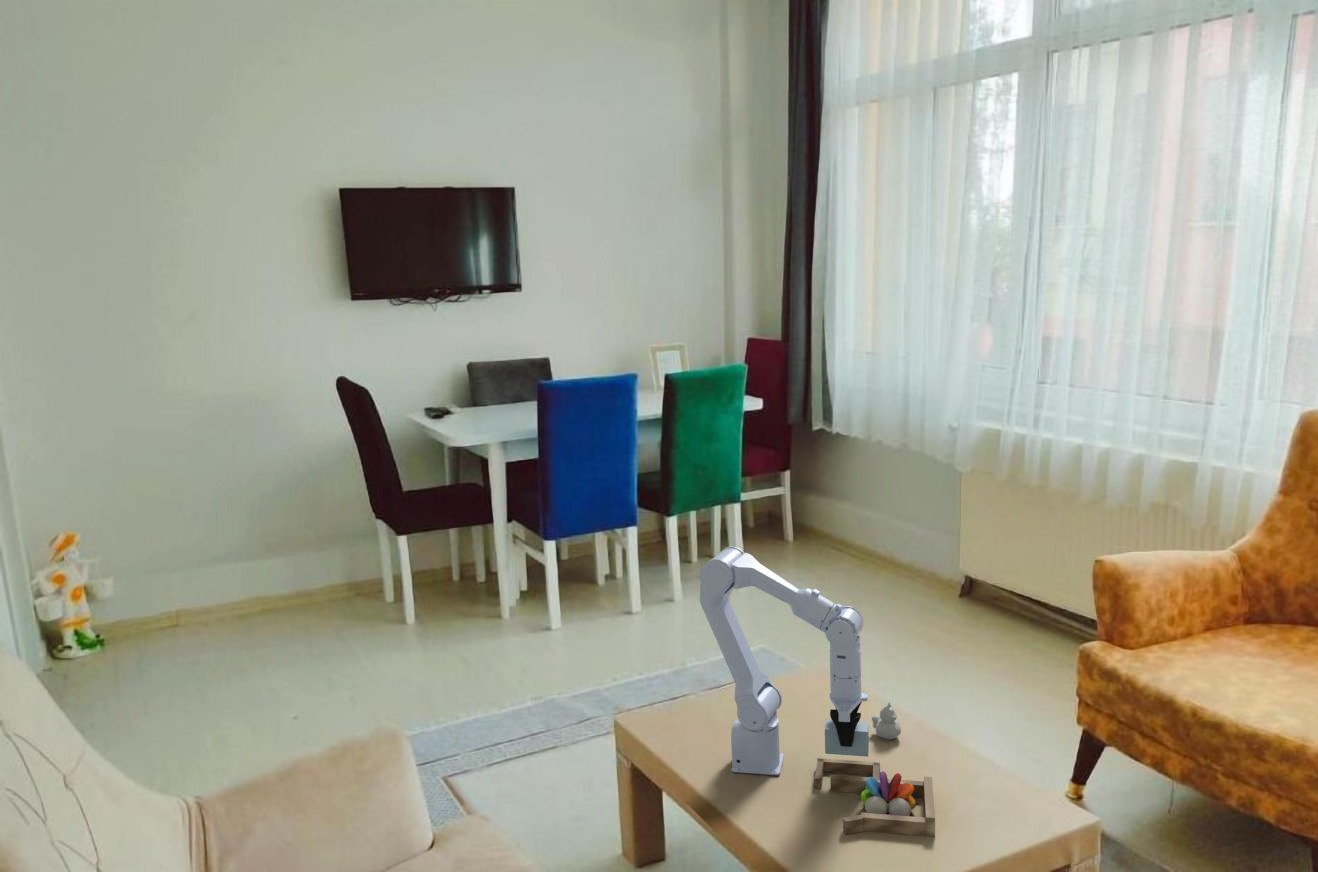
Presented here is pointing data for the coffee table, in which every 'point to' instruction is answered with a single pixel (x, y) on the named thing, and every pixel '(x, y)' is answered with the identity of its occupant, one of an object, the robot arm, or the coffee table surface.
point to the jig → (870, 819)
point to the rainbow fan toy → (888, 796)
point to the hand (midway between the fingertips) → (846, 739)
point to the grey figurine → (886, 723)
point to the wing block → (859, 742)
